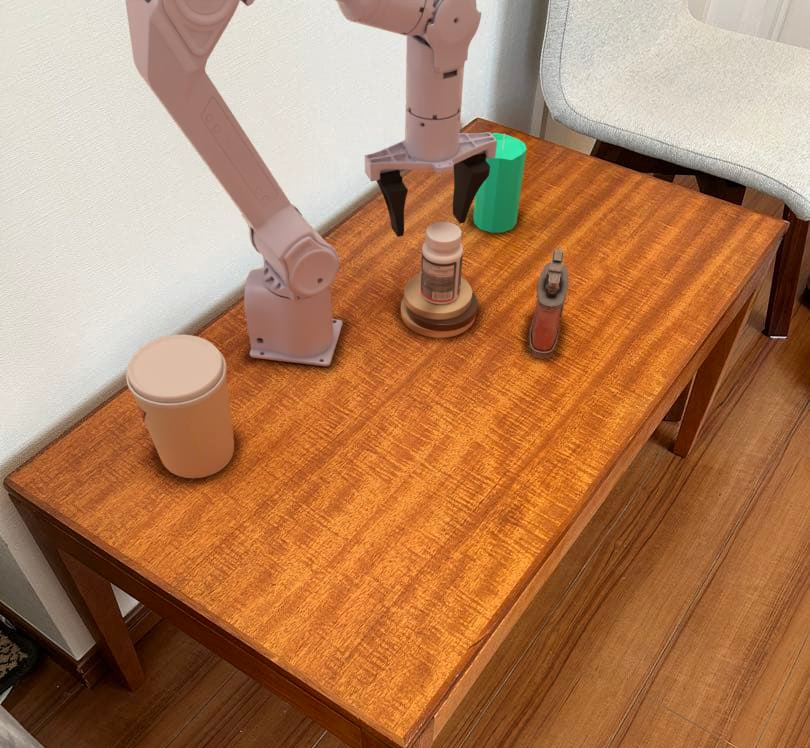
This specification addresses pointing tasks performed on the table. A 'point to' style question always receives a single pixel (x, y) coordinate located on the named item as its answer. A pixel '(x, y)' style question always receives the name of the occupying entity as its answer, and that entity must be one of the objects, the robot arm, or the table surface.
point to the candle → (501, 187)
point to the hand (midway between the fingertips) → (428, 225)
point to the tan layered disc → (438, 311)
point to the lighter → (549, 306)
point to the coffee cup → (184, 403)
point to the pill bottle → (441, 263)
